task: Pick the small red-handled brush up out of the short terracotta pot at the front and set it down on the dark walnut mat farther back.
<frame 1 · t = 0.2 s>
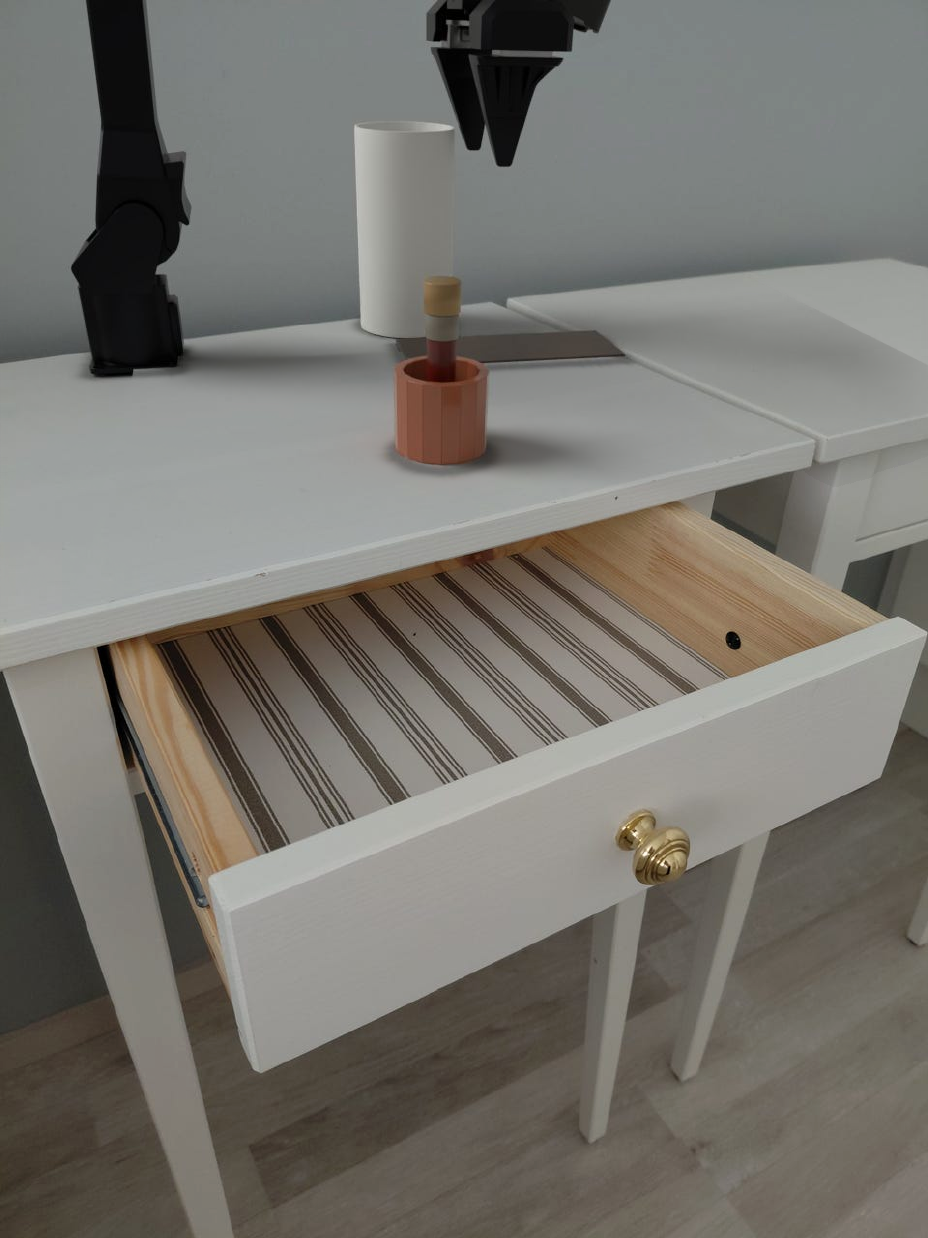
hand: (487, 157, 71), 15 cm above the table, tool pointing down, fingers open, 9 cm apart
cup: (406, 327, 84), on the table
pot: (440, 452, 60), on the table
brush: (440, 445, 60), resting on pot
mat: (508, 353, 78), on the table
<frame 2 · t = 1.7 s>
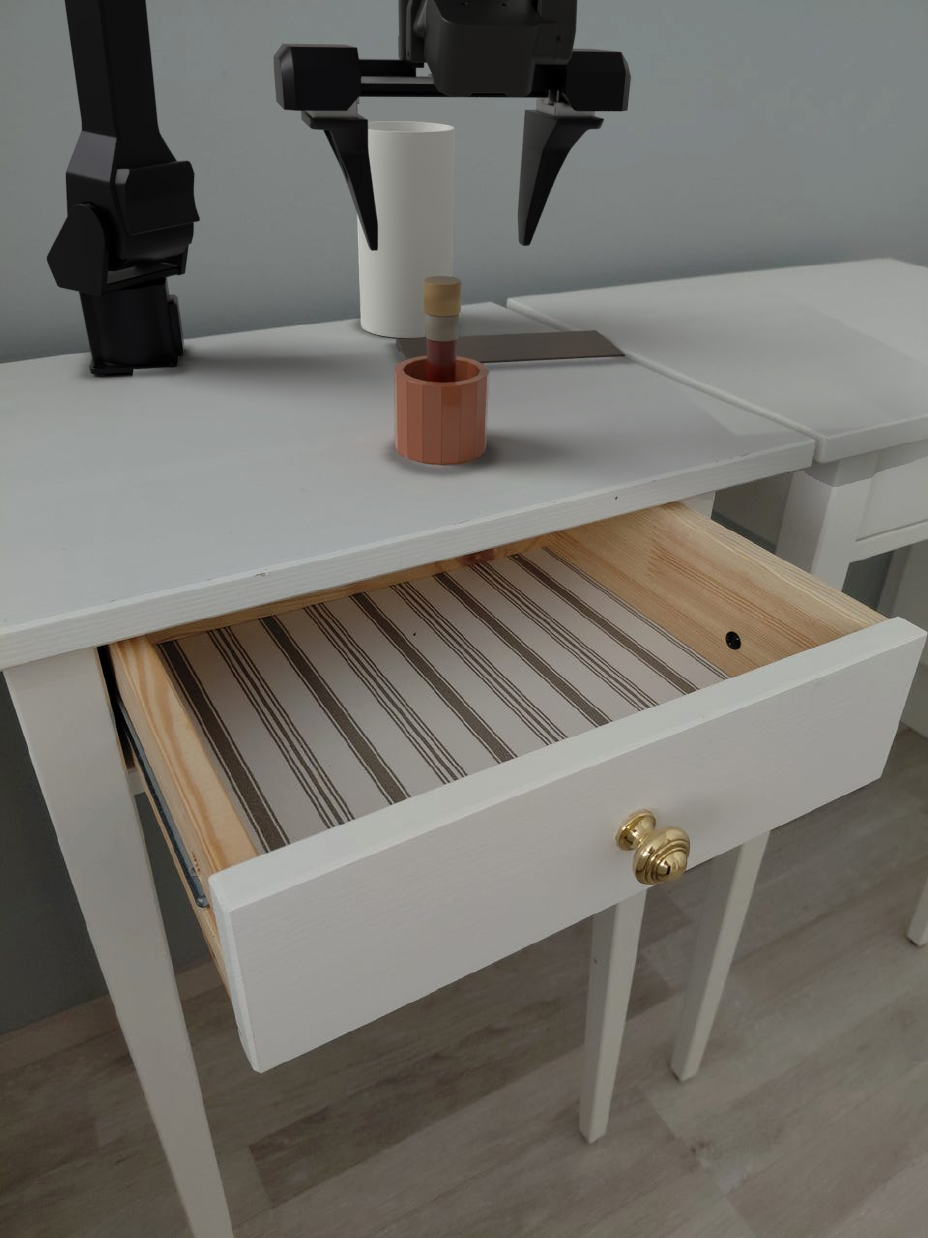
hand: (450, 246, 55), 12 cm above the table, tool pointing down, fingers open, 9 cm apart
nothing on the table moved.
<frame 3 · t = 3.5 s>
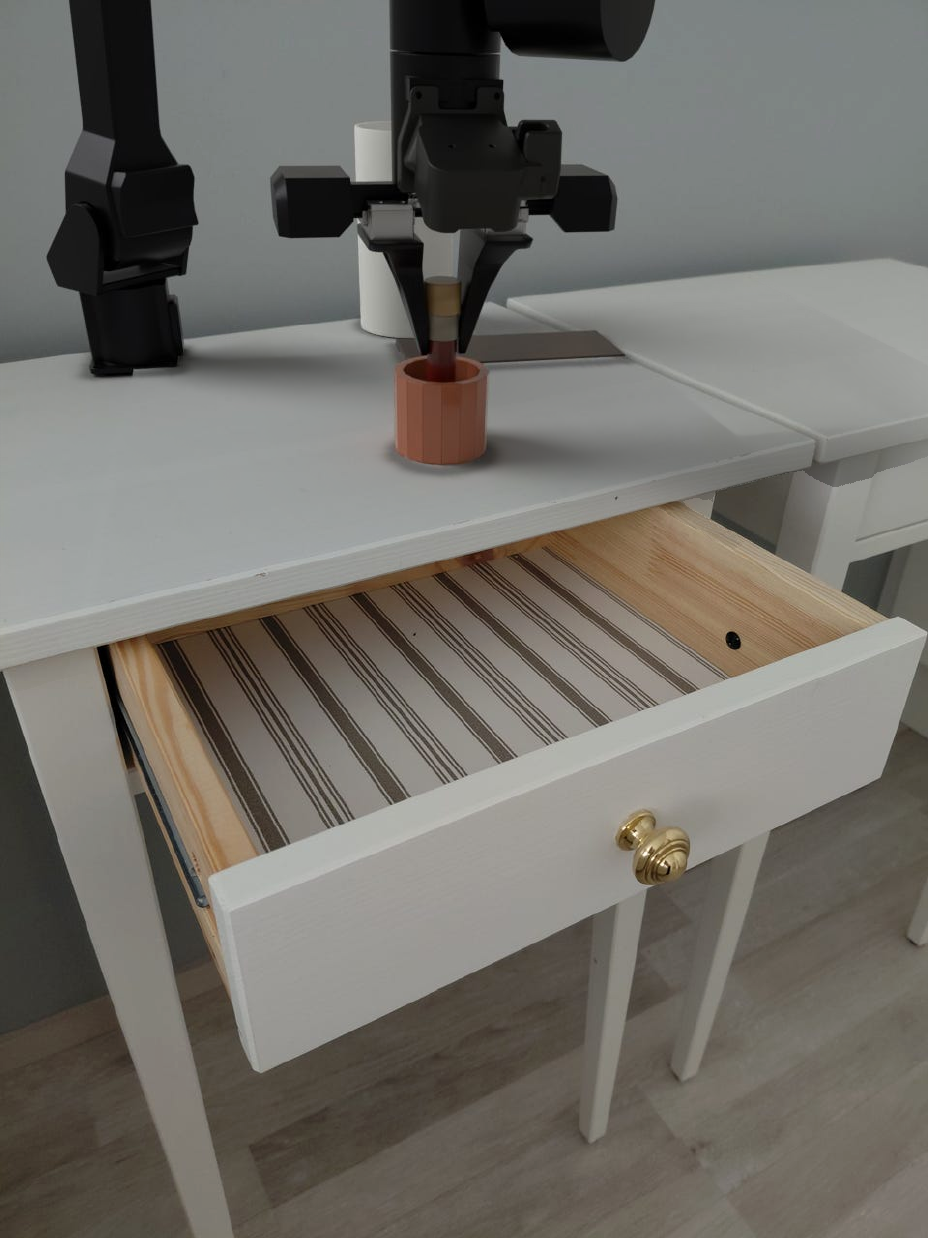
hand: (441, 352, 56), 7 cm above the table, tool pointing down, fingers closed on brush, 2 cm apart
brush: (440, 445, 60), point 1 cm above the table, touching gripper, pot
everything else where it was.
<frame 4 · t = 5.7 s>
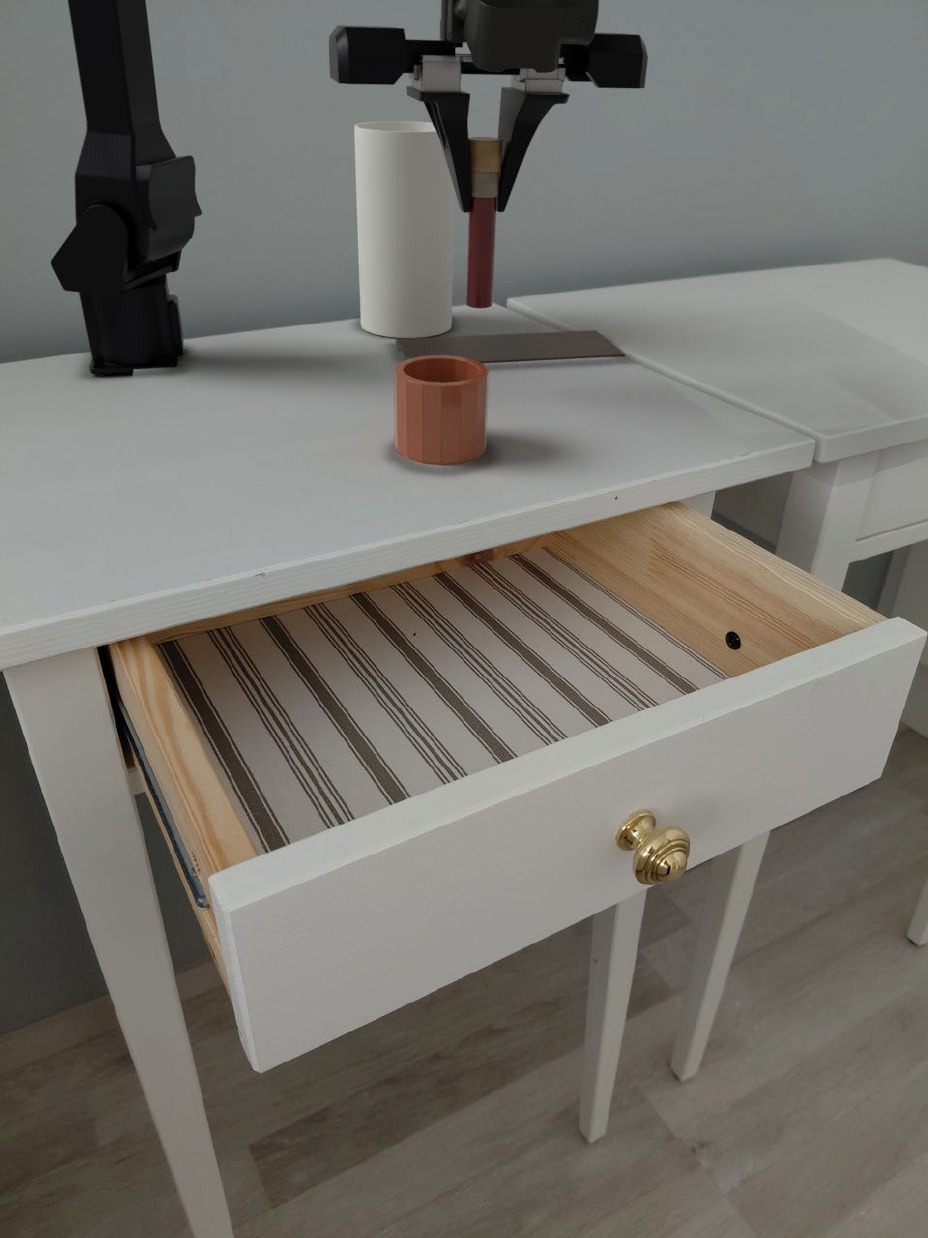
hand: (482, 211, 61), 13 cm above the table, tool pointing down, fingers closed on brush
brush: (479, 305, 64), point 7 cm above the table, touching gripper
everything else where it was.
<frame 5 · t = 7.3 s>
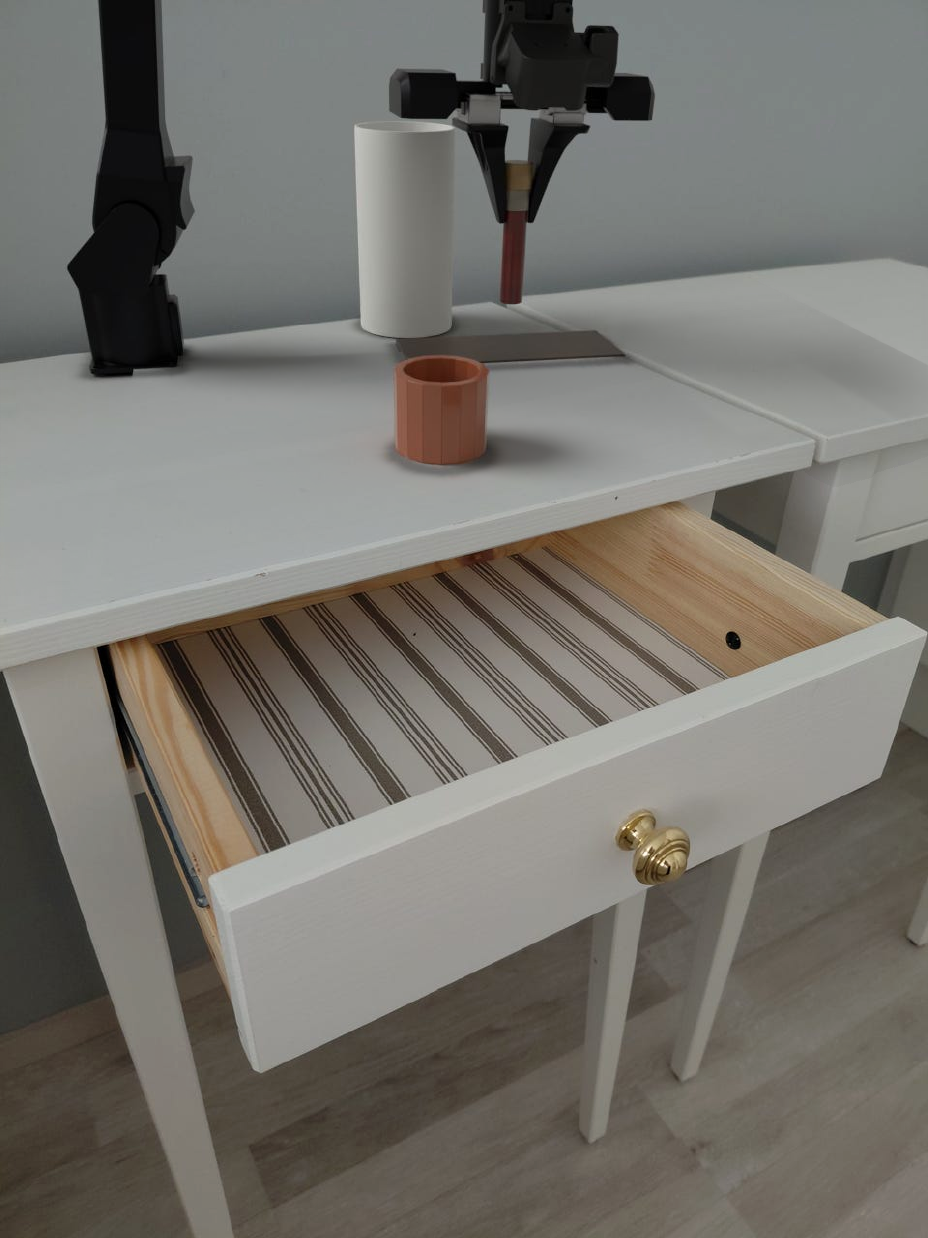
hand: (514, 222, 72), 10 cm above the table, tool pointing down, fingers closed on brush
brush: (510, 301, 75), point 4 cm above the table, touching gripper
everything else where it was.
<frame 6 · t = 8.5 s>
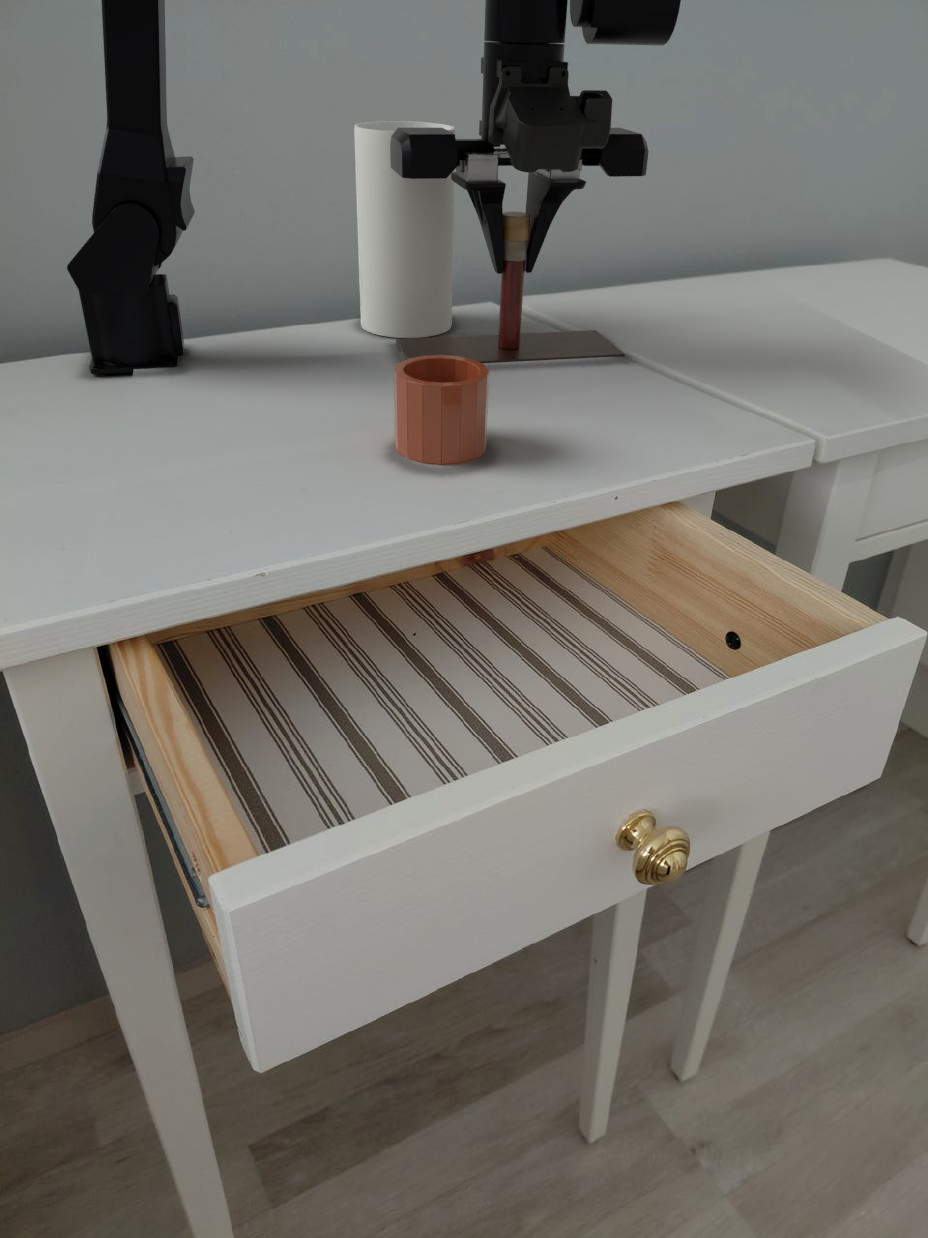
hand: (512, 272, 74), 7 cm above the table, tool pointing down, fingers closed
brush: (508, 346, 77), point 1 cm above the table, touching mat
everything else where it was.
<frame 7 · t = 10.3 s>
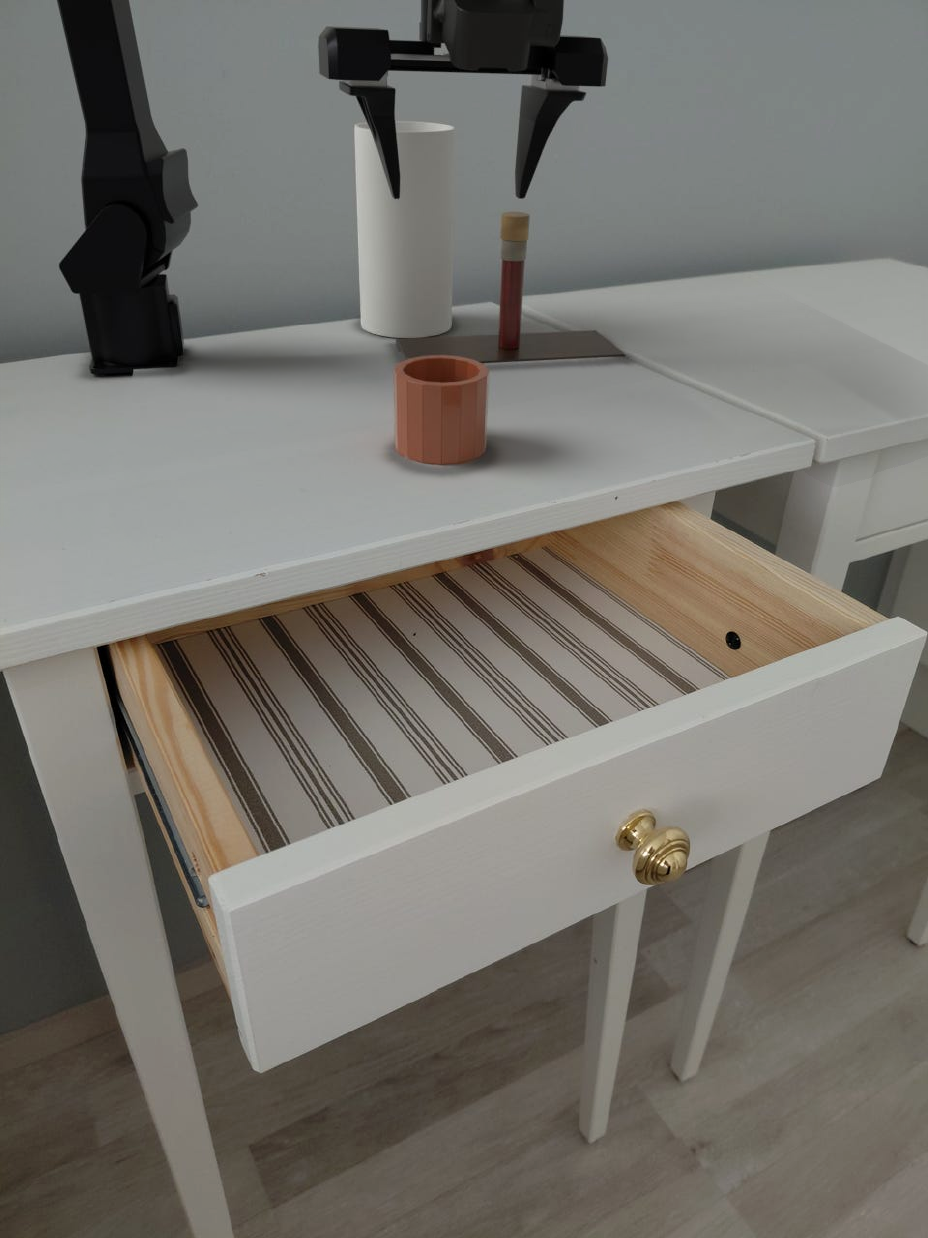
hand: (458, 197, 67), 13 cm above the table, tool pointing down, fingers open, 9 cm apart
nothing on the table moved.
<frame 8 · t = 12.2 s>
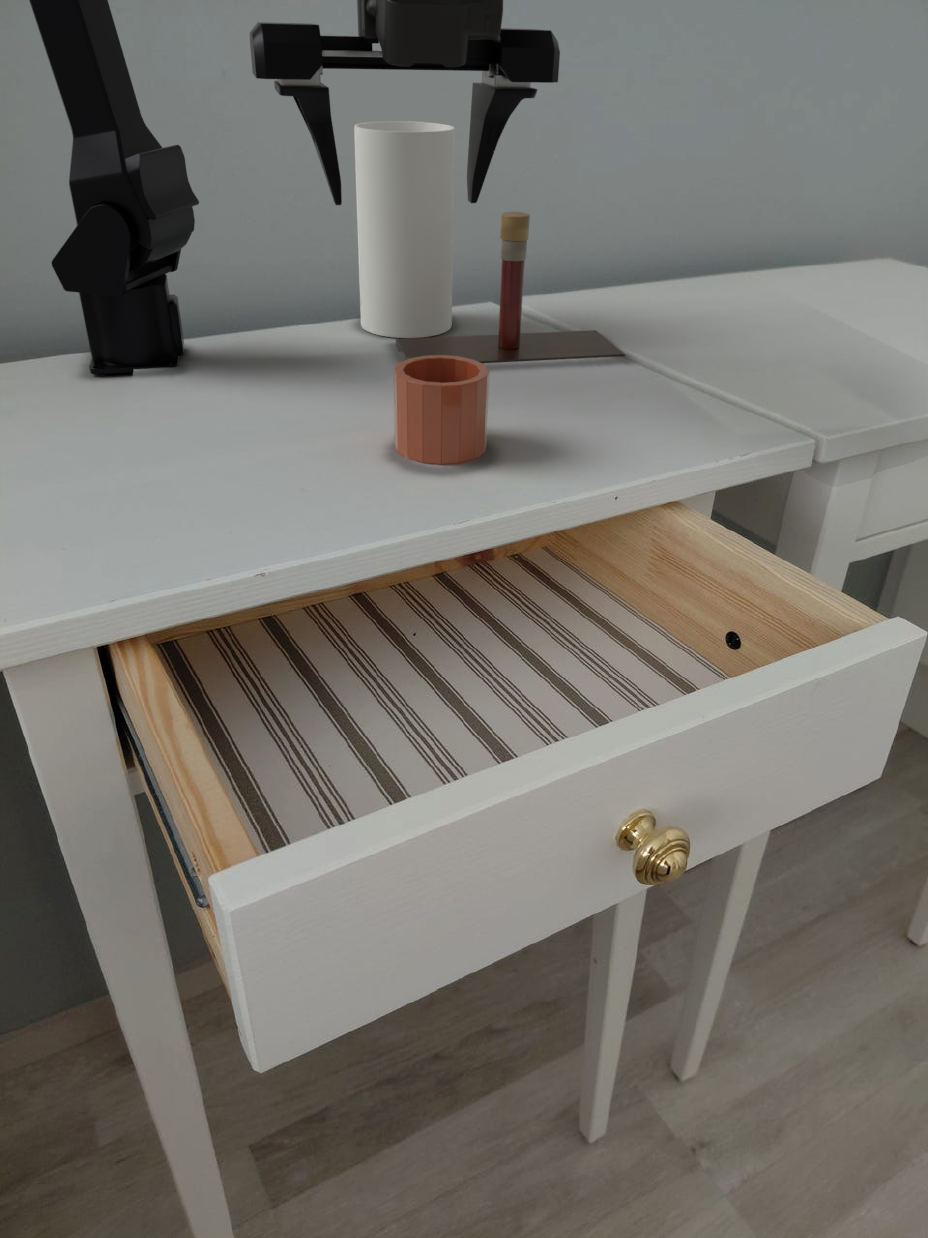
hand: (406, 203, 63), 13 cm above the table, tool pointing down, fingers open, 9 cm apart
nothing on the table moved.
at the end: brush inside the target area on the mat (0.1 cm from its centre), point 0.6 cm above the mat's base; the gripper is holding nothing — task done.
